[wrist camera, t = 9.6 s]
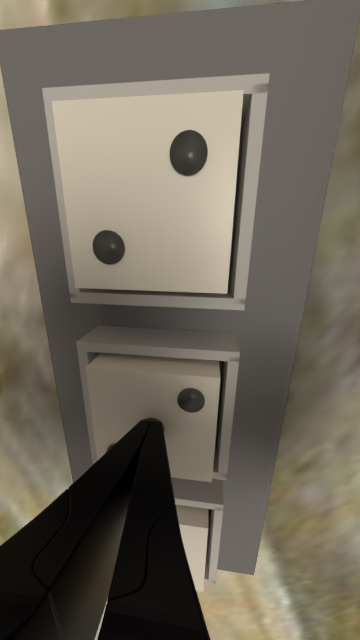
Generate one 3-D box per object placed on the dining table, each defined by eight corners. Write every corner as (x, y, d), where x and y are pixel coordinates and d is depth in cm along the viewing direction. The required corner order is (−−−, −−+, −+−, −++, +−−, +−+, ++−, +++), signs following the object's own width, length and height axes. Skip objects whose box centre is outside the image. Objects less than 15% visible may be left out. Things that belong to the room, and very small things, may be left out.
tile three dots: (217, 352, 10) (220, 379, 8) (211, 443, 11) (212, 484, 9) (107, 345, 10) (84, 368, 8) (115, 432, 12) (96, 470, 10)
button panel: (335, 40, 8) (425, -107, 5) (249, 547, 16) (260, 622, 13) (27, 64, 9) (-73, -38, 6) (94, 523, 18) (68, 585, 14)
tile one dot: (208, 485, 12) (208, 531, 10) (203, 544, 14) (203, 594, 12) (120, 474, 13) (103, 515, 11) (124, 532, 14) (111, 578, 12)
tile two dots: (234, 130, 7) (244, 87, 5) (223, 284, 9) (227, 294, 7) (89, 136, 8) (49, 98, 6) (101, 280, 9) (73, 288, 7)
